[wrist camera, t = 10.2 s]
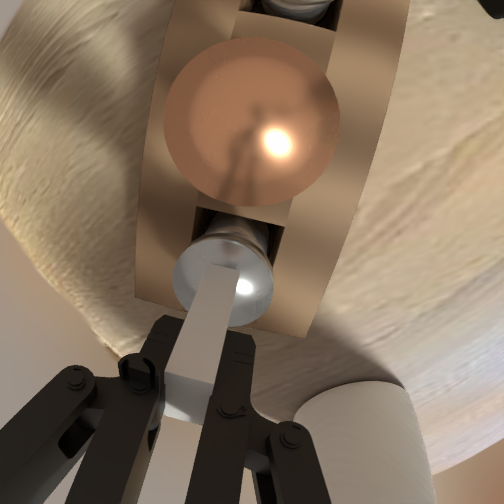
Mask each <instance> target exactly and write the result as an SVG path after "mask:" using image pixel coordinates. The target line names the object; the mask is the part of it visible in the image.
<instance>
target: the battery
mask: <svg viewBox="0 0 504 504" xmlns="http://www.w3.org/2000/svg"><path fill="white" fill-rule="evenodd" d="M480 2H481V3H482V4H483V6H484V7H485V8H486V10H487V11H488V12H489V14H490V15H491V16H492V17H493V18H494V19H501V18H504V0H480Z"/></svg>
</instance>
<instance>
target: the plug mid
mask: <svg viewBox="0 0 504 504" xmlns="http://www.w3.org/2000/svg"><path fill="white" fill-rule="evenodd" d="M163 129H164V136H165V141H166V144H167V148H168V151H169V153H170V155H171V157H172V160H173V161H174V163H175V165H176V166H177V168H178V169H179V171H180V172H181V173H182V175H183V176H184V177H185V178H186V179H187V180H188V181H189V182H190V183H191V184H192V185H193V186H195V187H196V188H197V189H198V190H200V191H201V192H203V193H205V194H206V195H208V196H210V197H212V198H214V199H216V200H219V201H221V202H224V203H228V204H231V205H237V206H245V207H259V206H267V205H272V204H277V203H280V202H283V201H286V200H288V199H290V198H292V197H294V196H296V195H298V194H300V193H301V192H303V191H304V190H306V189H307V188H308V187H309V186H311V185H312V184H313V183H314V182H315V181H316V180H317V179H318V178H319V177H320V176H321V175H322V173H323V172H324V171H325V169H326V168H327V166H328V165H329V163H330V161H331V159H332V157H333V155H334V153H335V150H336V147H337V144H338V139H339V134H340V110H339V106H338V101H337V98H336V95H335V92H334V90H333V87H332V86H331V84H330V82H329V80H328V78H327V77H326V75H325V74H324V73H323V71H322V70H321V69H320V68H319V67H318V66H317V65H316V64H315V62H314V61H313V60H311V59H310V58H309V57H308V56H306V55H305V54H304V53H302V52H301V51H299V50H297V49H295V48H294V47H292V46H289V45H287V44H285V43H282V42H279V41H275V40H271V39H266V38H258V37H245V38H237V39H232V40H228V41H224V42H221V43H219V44H216V45H214V46H211V47H209V48H208V49H206V50H204V51H203V52H201V53H200V54H198V55H197V56H196V57H194V58H193V59H192V60H191V61H190V62H189V63H188V64H187V65H186V66H185V67H184V68H183V69H182V70H181V72H180V73H179V74H178V76H177V77H176V79H175V81H174V82H173V84H172V86H171V88H170V91H169V93H168V96H167V99H166V103H165V107H164V116H163Z"/></svg>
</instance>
